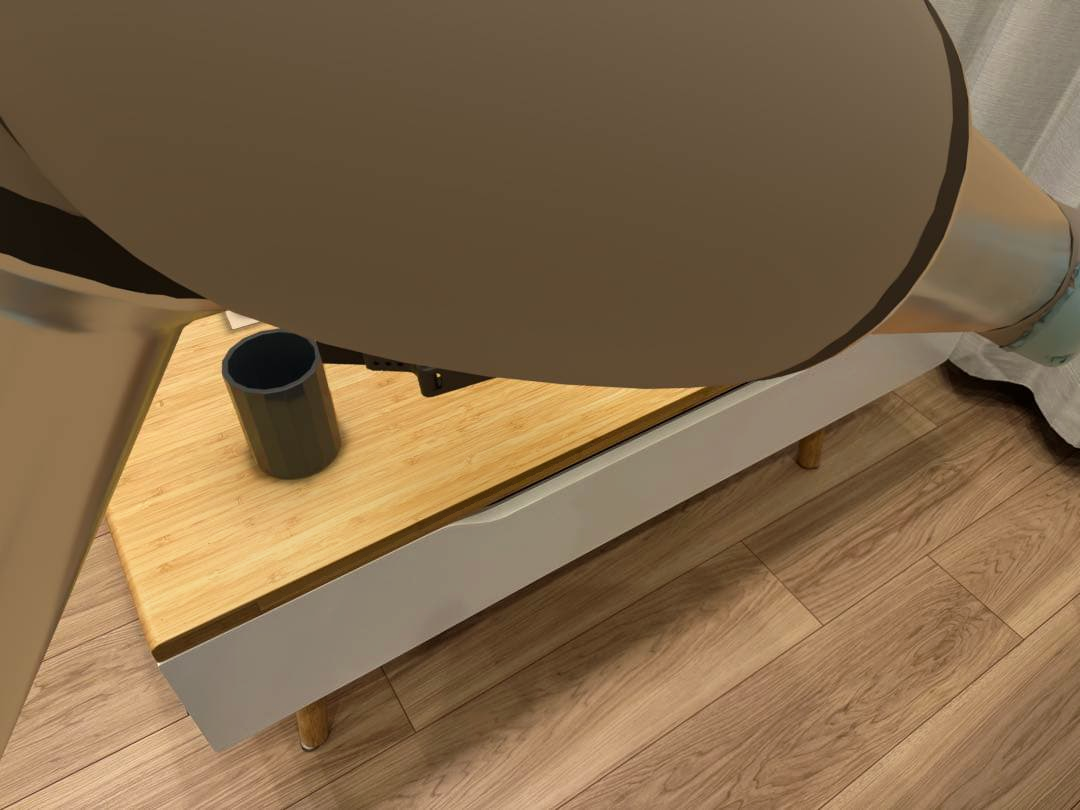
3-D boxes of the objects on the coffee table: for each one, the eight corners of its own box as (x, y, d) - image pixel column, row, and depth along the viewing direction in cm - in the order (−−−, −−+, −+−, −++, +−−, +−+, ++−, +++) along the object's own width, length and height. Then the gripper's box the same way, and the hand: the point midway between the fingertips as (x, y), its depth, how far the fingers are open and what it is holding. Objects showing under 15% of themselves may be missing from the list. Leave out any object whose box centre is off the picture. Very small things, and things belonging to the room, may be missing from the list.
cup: (326, 484, 70) (302, 398, 62) (240, 474, 70) (205, 387, 62) (351, 420, 75) (333, 333, 67) (271, 411, 76) (243, 324, 68)
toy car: (237, 318, 85) (232, 301, 83) (219, 276, 90) (214, 259, 88) (275, 307, 86) (270, 290, 84) (255, 267, 91) (250, 250, 90)
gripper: (632, 458, 50) (310, 445, 51) (627, 234, 67) (385, 228, 68) (641, 376, 45) (280, 363, 46) (633, 154, 62) (370, 149, 63)
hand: (342, 282), depth 57 cm, fingers open, 13 cm apart
